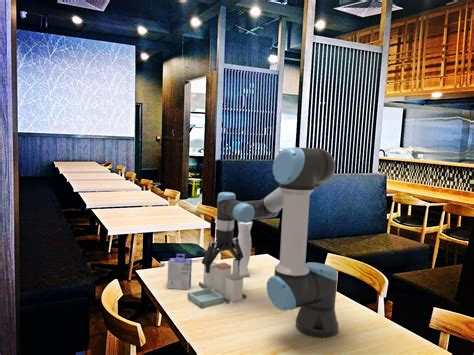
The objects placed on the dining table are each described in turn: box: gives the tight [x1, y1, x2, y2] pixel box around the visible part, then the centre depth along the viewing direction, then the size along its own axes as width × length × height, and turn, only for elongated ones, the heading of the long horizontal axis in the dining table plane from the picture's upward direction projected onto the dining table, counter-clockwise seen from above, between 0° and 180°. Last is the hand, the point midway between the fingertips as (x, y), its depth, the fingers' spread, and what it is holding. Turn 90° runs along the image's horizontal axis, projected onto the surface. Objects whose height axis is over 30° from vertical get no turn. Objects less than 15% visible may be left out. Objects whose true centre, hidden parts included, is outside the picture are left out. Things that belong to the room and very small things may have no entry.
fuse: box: [213, 262, 232, 296], centre depth 175 cm, size 5×5×12 cm
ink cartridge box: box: [166, 253, 193, 290], centre depth 178 cm, size 10×6×14 cm, turn 89°
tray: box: [187, 288, 225, 309], centre depth 165 cm, size 11×11×2 cm
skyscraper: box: [237, 220, 253, 278], centre depth 197 cm, size 8×8×28 cm
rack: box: [198, 261, 248, 305], centre depth 175 cm, size 22×10×10 cm, turn 37°
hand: (222, 277), depth 175 cm, fingers open, 13 cm apart
